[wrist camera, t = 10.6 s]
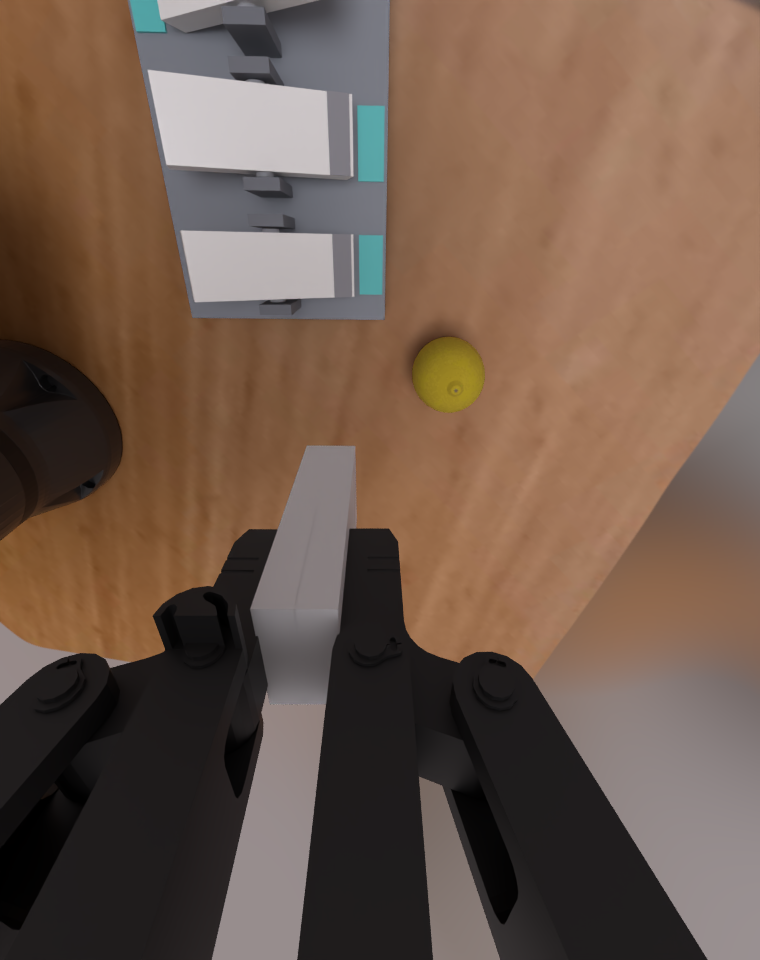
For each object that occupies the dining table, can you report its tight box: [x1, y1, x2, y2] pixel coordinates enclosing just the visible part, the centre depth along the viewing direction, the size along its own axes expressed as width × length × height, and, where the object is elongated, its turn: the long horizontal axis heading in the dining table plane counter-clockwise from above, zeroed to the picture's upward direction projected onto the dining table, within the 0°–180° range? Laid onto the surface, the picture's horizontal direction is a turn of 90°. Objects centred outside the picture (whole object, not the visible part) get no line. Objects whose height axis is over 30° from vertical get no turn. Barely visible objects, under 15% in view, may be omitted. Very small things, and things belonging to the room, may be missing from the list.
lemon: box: [412, 337, 485, 413], centre depth 32 cm, size 6×6×8 cm
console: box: [128, 0, 390, 320], centre depth 25 cm, size 14×20×8 cm
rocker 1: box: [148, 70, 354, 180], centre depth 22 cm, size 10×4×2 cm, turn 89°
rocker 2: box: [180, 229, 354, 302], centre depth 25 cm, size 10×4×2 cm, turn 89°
